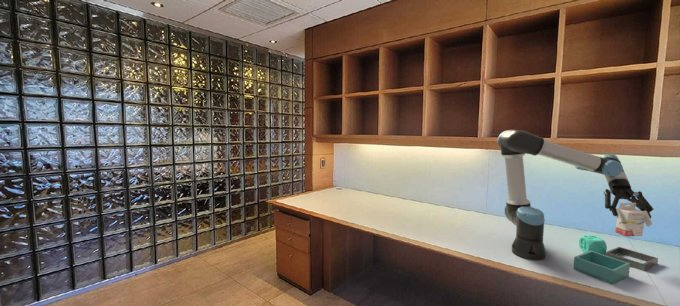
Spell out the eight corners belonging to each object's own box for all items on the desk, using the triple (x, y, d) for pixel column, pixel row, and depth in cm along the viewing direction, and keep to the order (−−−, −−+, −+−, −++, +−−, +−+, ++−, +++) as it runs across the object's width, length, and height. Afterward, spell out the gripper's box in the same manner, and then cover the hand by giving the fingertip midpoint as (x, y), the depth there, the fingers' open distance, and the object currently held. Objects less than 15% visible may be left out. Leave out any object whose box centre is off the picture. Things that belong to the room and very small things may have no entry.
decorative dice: (606, 256, 140) (607, 241, 139) (588, 255, 141) (589, 240, 141) (595, 249, 148) (596, 235, 147) (578, 248, 149) (579, 234, 148)
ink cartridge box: (625, 236, 127) (630, 205, 125) (614, 232, 132) (618, 202, 130) (643, 236, 127) (647, 205, 125) (631, 231, 132) (635, 202, 130)
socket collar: (604, 258, 138) (605, 252, 138) (618, 252, 144) (618, 246, 144) (644, 271, 126) (644, 264, 125) (657, 264, 131) (658, 258, 131)
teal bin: (573, 269, 128) (574, 256, 128) (589, 262, 134) (590, 250, 134) (613, 284, 116) (614, 270, 115) (628, 276, 122) (629, 263, 121)
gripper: (642, 187, 138) (661, 230, 125) (587, 184, 145) (600, 224, 132) (651, 179, 132) (673, 223, 119) (593, 176, 139) (608, 217, 126)
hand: (635, 223), depth 126 cm, fingers closed on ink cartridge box, 9 cm apart
